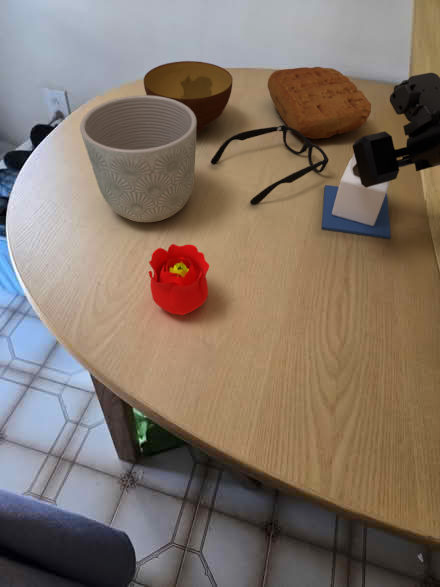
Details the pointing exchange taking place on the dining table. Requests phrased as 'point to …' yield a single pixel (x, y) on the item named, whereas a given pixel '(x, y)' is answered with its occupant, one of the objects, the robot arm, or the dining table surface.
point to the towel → (349, 226)
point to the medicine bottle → (358, 198)
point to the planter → (142, 154)
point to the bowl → (192, 87)
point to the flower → (179, 278)
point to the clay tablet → (318, 101)
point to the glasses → (284, 129)
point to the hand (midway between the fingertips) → (379, 165)
